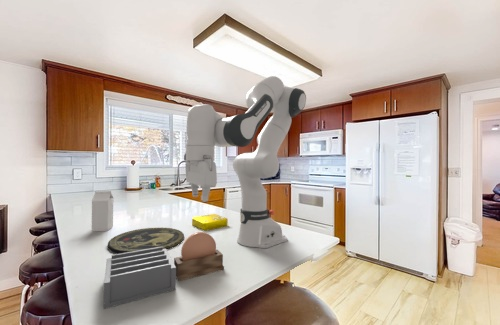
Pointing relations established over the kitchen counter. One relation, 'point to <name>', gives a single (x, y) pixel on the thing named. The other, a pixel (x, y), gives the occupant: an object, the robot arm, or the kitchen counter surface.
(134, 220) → the kitchen counter surface
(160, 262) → the charcoal dish rack
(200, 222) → the element tile
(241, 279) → the kitchen counter surface
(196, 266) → the walnut plate stand
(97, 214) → the milk carton
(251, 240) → the robot arm
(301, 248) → the kitchen counter surface
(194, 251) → the terracotta plate
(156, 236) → the decorative plate
